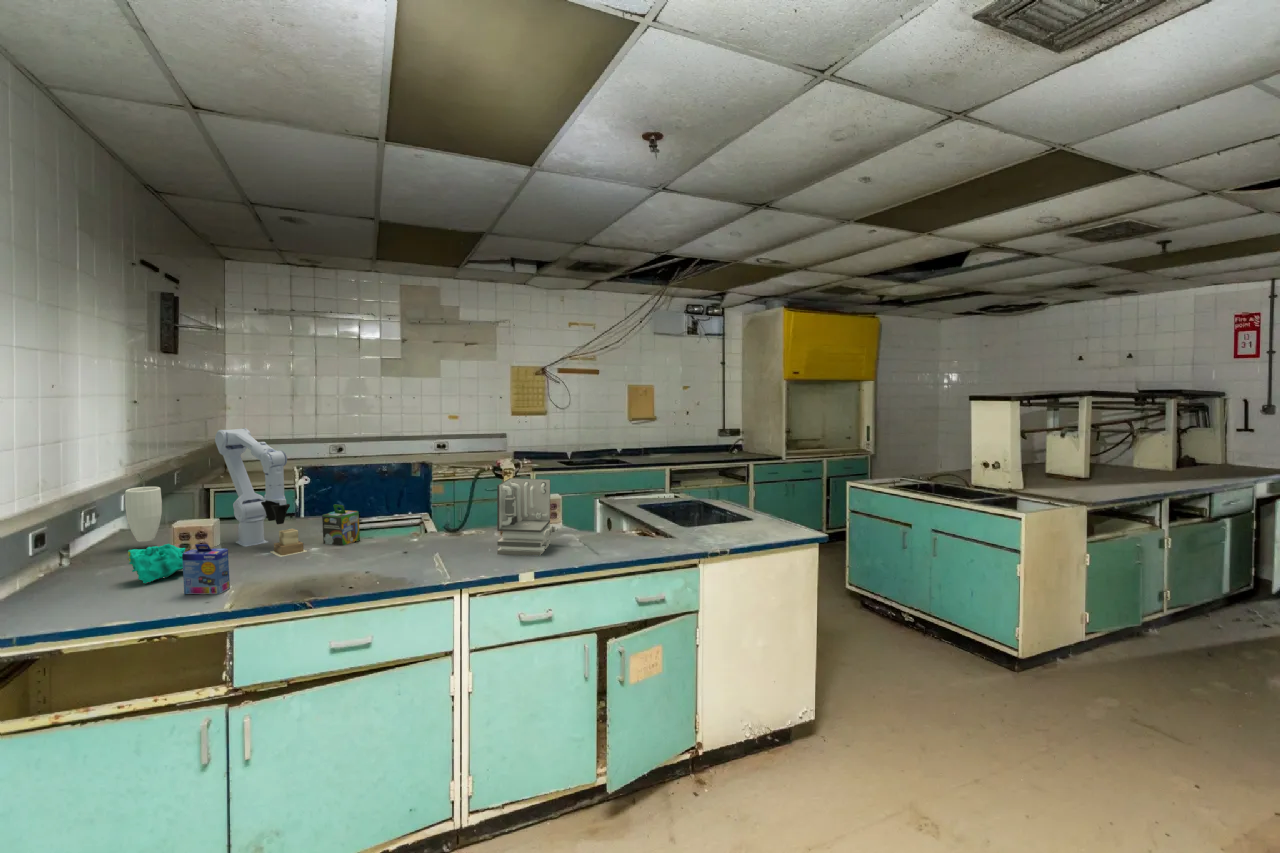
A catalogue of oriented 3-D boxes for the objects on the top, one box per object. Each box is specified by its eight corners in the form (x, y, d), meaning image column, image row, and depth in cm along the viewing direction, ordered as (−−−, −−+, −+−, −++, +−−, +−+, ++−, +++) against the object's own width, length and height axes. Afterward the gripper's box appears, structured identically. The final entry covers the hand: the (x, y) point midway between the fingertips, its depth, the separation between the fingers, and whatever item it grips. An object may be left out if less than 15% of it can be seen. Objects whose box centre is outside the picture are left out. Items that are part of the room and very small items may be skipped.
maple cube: (279, 543, 211) (279, 530, 211) (293, 540, 215) (292, 528, 215) (284, 545, 209) (284, 533, 208) (298, 543, 212) (298, 530, 212)
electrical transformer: (509, 542, 230) (509, 478, 228) (558, 544, 229) (559, 479, 227) (497, 554, 215) (497, 485, 213) (550, 556, 213) (550, 486, 211)
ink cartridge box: (182, 595, 170) (180, 545, 169) (195, 588, 175) (193, 540, 174) (219, 595, 171) (217, 545, 170) (230, 588, 176) (228, 540, 175)
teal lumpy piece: (142, 550, 189) (185, 529, 192) (159, 583, 189) (202, 562, 192) (110, 554, 175) (157, 532, 178) (129, 591, 175) (176, 568, 178)
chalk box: (360, 540, 229) (359, 502, 228) (342, 547, 220) (341, 507, 219) (340, 538, 232) (339, 500, 230) (322, 544, 223) (321, 505, 222)
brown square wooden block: (274, 551, 212) (273, 543, 211) (295, 547, 217) (295, 539, 217) (282, 555, 207) (281, 547, 207) (303, 551, 213) (303, 542, 212)
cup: (169, 543, 221) (166, 485, 220) (157, 551, 212) (154, 490, 210) (135, 545, 218) (132, 486, 216) (121, 553, 208) (117, 492, 207)
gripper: (254, 483, 216) (255, 520, 217) (270, 488, 207) (271, 527, 208) (276, 481, 221) (277, 517, 222) (292, 486, 212) (293, 523, 213)
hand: (275, 522), depth 216 cm, fingers open, 7 cm apart
